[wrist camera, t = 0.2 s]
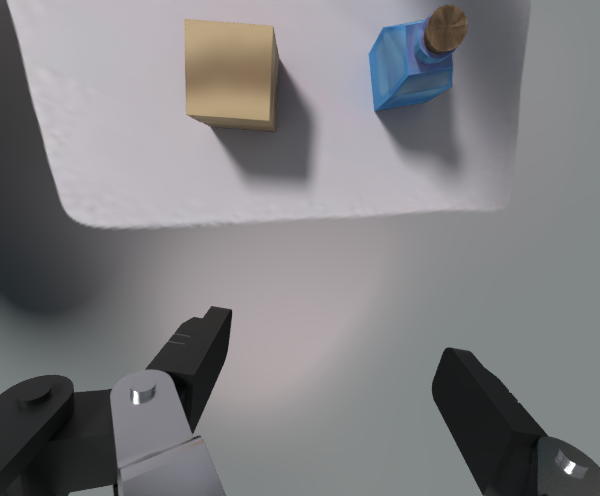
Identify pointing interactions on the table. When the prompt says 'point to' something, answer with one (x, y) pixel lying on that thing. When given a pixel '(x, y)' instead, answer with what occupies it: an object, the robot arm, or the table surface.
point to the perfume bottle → (416, 58)
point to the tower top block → (230, 72)
